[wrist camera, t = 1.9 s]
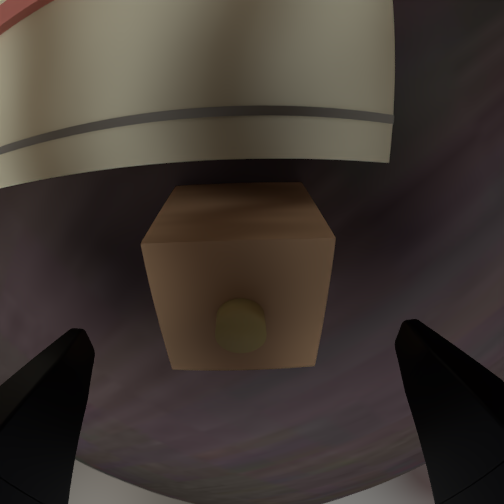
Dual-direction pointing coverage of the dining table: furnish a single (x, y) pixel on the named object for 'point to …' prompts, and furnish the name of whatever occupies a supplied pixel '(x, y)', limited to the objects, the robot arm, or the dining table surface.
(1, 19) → the carpenter pencil
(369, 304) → the dining table surface
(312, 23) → the plank
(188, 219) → the block
